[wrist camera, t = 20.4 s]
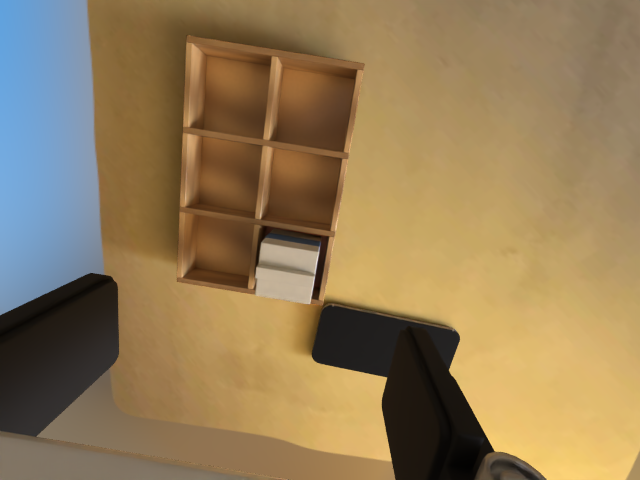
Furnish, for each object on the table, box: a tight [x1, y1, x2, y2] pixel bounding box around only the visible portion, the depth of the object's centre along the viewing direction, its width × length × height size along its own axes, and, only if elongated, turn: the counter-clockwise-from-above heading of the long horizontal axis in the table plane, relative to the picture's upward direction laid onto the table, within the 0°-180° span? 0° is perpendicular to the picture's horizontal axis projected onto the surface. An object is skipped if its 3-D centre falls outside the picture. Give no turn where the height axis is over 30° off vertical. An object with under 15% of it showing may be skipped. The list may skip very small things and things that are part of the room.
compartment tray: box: [177, 35, 365, 306], centre depth 28 cm, size 21×14×4 cm
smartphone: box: [312, 303, 460, 377], centre depth 33 cm, size 7×1×15 cm
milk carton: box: [255, 228, 321, 304], centre depth 28 cm, size 5×5×6 cm
